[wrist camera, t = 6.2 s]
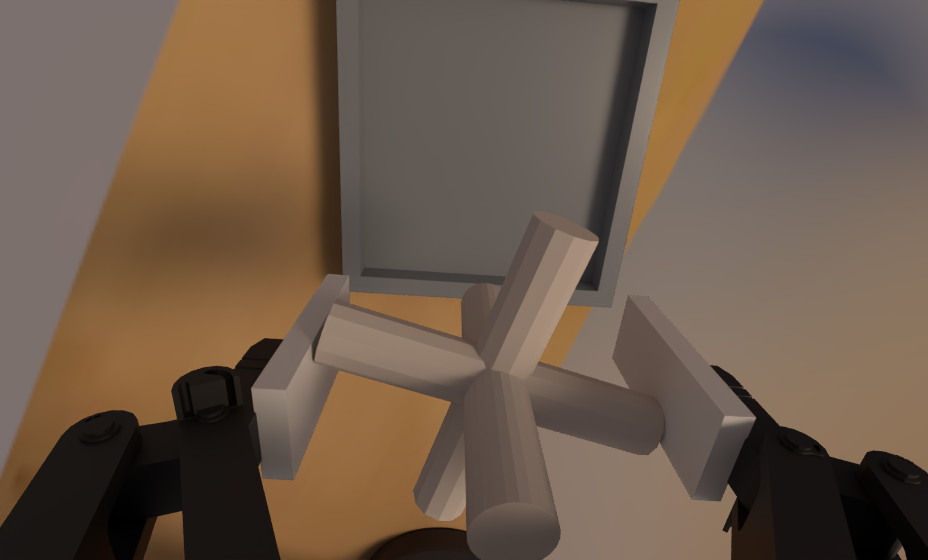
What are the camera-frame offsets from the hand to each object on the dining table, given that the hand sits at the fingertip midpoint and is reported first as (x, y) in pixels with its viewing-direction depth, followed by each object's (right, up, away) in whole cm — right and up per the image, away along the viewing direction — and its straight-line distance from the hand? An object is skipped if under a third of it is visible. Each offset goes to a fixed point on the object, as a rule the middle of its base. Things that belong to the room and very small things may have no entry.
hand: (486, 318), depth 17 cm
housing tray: (+1, +10, +14) cm, 17 cm away
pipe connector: (0, +1, +1) cm, 1 cm away
